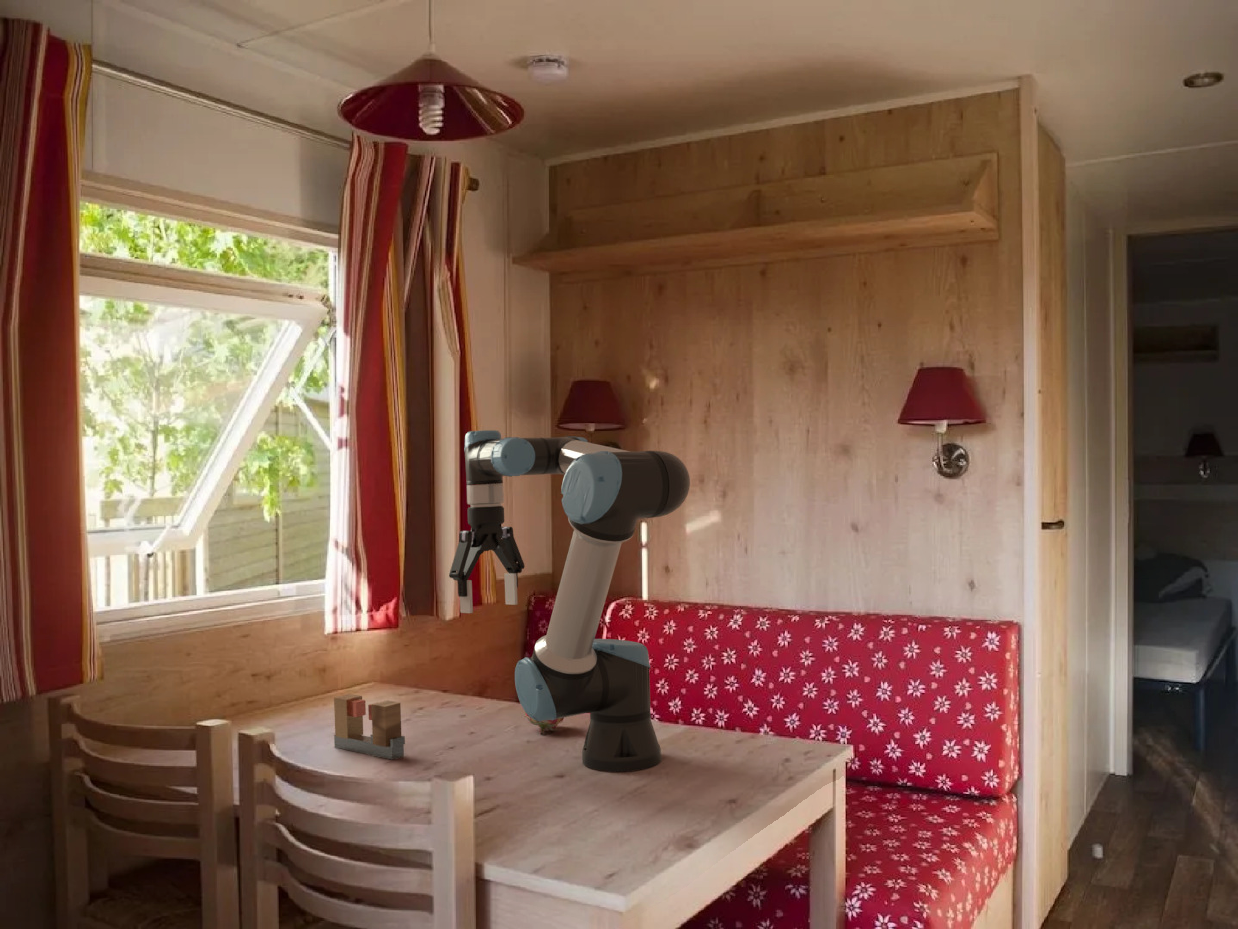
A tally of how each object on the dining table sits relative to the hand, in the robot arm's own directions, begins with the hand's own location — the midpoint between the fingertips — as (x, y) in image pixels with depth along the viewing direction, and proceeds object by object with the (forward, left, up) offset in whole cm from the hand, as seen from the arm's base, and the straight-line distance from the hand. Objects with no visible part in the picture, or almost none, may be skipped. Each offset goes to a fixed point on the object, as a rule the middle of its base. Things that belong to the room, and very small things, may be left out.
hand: (489, 608), depth 228 cm
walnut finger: (+12, +18, -25) cm, 33 cm away
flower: (-3, -13, -28) cm, 31 cm away
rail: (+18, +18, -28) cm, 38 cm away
